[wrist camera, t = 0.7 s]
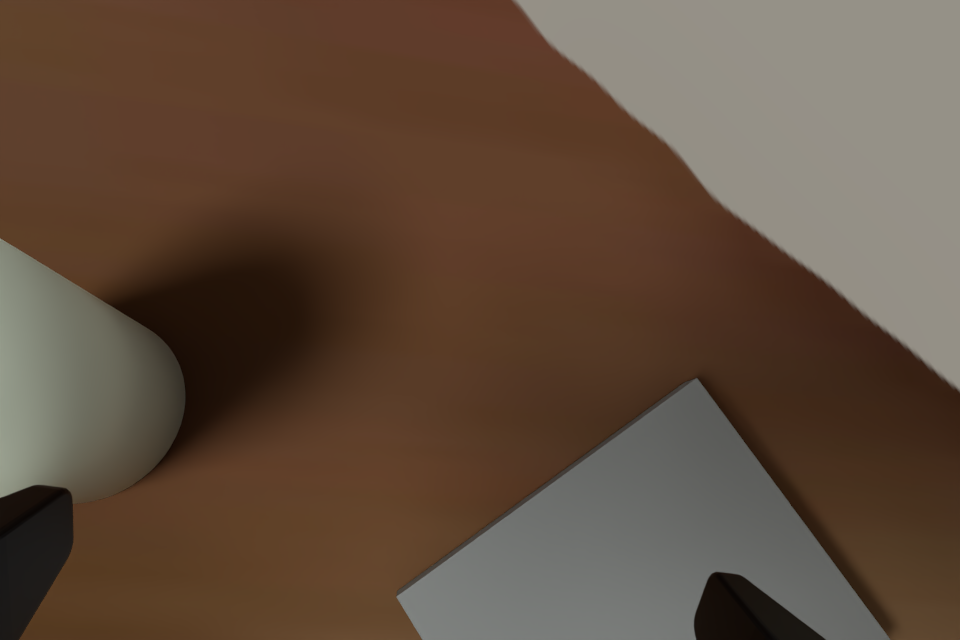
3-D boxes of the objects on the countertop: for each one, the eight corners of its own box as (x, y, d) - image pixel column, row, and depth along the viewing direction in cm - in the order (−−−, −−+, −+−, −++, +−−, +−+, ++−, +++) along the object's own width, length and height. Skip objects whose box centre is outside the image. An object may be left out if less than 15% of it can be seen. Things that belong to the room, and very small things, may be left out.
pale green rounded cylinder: (219, 432, 23) (85, 393, 14) (35, 544, 22) (-265, 589, 12) (132, 282, 24) (-48, 149, 15) (-50, 378, 23) (-386, 298, 13)
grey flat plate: (873, 640, 24) (897, 648, 23) (590, 910, 21) (601, 935, 19) (684, 382, 26) (696, 377, 25) (397, 591, 22) (396, 596, 21)
